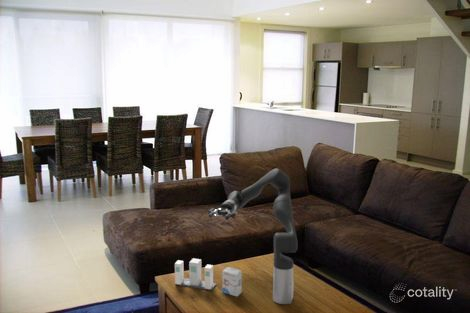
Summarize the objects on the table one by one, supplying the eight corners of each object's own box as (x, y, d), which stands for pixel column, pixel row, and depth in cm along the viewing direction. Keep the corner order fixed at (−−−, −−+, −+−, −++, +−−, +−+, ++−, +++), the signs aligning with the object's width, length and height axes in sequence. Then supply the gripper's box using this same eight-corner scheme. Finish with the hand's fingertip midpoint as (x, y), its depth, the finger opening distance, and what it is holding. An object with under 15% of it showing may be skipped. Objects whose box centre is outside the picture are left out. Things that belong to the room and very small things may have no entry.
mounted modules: (213, 285, 217) (213, 265, 215) (210, 289, 214) (210, 268, 212) (178, 280, 223) (178, 260, 221) (175, 283, 219) (174, 263, 217)
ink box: (221, 292, 213) (221, 270, 210) (226, 288, 217) (226, 266, 215) (237, 297, 209) (237, 274, 206) (241, 292, 213) (242, 270, 211)
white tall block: (201, 281, 222) (201, 259, 220) (197, 285, 217) (197, 263, 215) (193, 280, 223) (193, 258, 221) (189, 284, 218) (189, 262, 216)
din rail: (216, 284, 220) (216, 283, 220) (212, 290, 215) (212, 288, 215) (180, 279, 226) (180, 277, 226) (175, 284, 221) (175, 282, 220)
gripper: (215, 200, 237) (205, 208, 221) (240, 202, 233) (231, 211, 217) (215, 213, 238) (205, 222, 223) (240, 215, 234) (231, 225, 219)
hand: (218, 217), depth 220 cm, fingers open, 8 cm apart
